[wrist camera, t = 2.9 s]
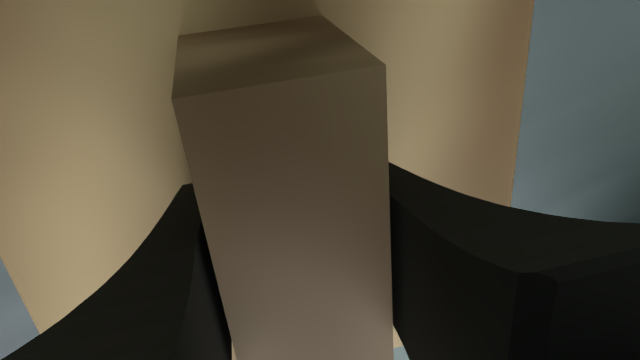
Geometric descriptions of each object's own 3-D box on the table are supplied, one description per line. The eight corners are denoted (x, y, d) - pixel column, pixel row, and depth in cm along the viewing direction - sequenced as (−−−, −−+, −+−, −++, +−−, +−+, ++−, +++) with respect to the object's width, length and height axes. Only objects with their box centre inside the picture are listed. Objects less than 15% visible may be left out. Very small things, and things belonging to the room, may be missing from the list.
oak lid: (528, -143, 11) (739, -178, 7) (484, 305, 17) (578, 430, 13) (-143, -77, 9) (-438, -68, 5) (91, 402, 15) (54, 585, 11)
